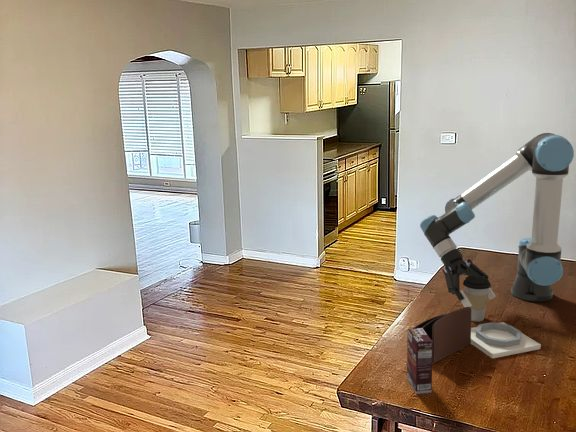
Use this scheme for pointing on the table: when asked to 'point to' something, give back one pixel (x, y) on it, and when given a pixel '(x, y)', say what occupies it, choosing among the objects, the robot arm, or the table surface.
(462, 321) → the letter holder
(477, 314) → the coffee cup
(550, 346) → the table surface
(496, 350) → the dock board
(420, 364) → the supplement box
